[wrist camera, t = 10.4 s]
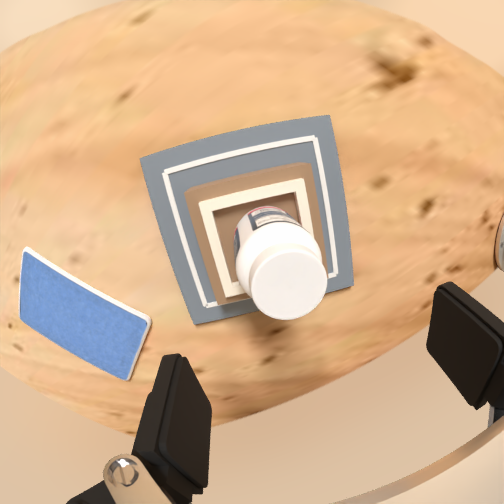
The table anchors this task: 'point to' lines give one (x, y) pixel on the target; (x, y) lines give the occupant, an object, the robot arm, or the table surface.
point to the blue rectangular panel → (80, 316)
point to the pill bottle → (278, 263)
